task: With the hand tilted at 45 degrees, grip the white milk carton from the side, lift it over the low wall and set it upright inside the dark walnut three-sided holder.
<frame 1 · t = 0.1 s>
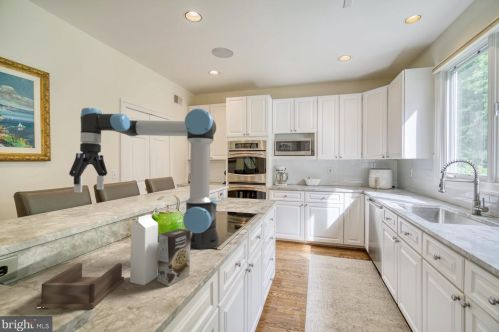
hand: (89, 190, 96), 28 cm above the counter, tool pointing down, fingers open, 13 cm apart
milk: (143, 280, 74), on the counter
cookie box: (174, 278, 75), on the counter
holder: (85, 292, 66), on the counter
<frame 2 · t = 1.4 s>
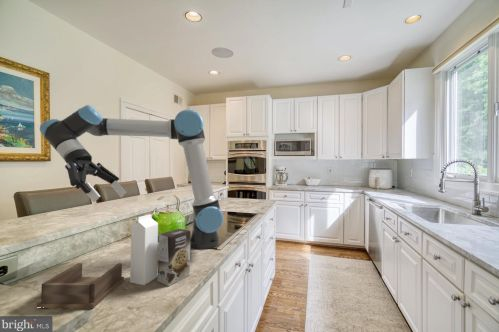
hand: (111, 196, 79), 28 cm above the counter, tool tilted 45°, fingers open, 13 cm apart
nothing on the counter moved.
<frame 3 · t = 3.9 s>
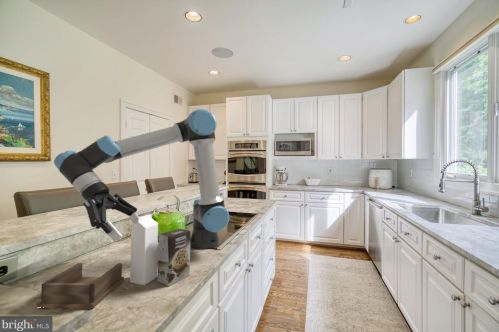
hand: (132, 233, 74), 16 cm above the counter, tool tilted 45°, fingers open, 13 cm apart
nothing on the counter moved.
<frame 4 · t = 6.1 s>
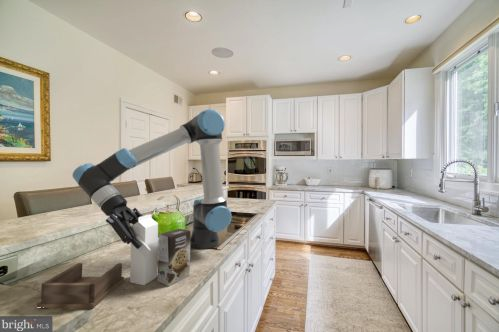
hand: (154, 249, 74), 11 cm above the counter, tool tilted 45°, fingers closed on milk, 7 cm apart
milk: (143, 280, 74), on the counter, touching gripper
everything else where it was.
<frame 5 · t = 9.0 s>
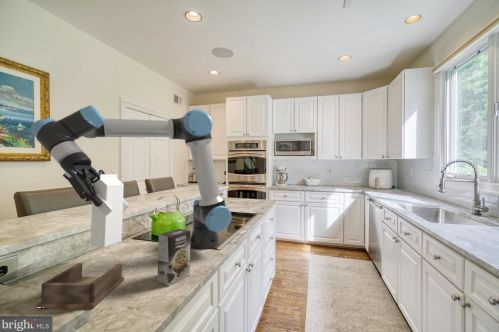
hand: (118, 210, 69), 25 cm above the counter, tool tilted 45°, fingers closed on milk, 7 cm apart
milk: (106, 243, 69), point 14 cm above the counter, touching gripper
everything else where it was.
when the fingers open (13 cm above the counter, at t = 12.3 s): milk drops 1 cm, resting on holder.
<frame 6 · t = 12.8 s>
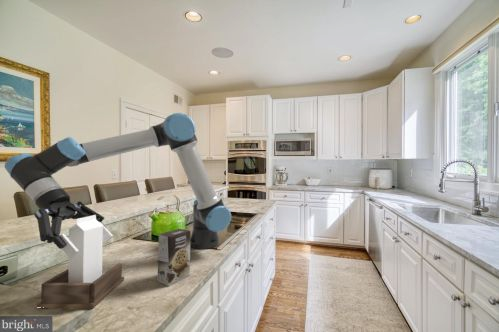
hand: (93, 246, 66), 14 cm above the counter, tool tilted 45°, fingers open, 13 cm apart
milk: (85, 289, 66), point 1 cm above the counter, touching holder
everything else where it was.
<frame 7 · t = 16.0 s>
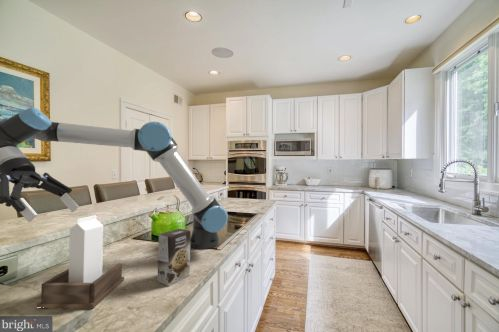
hand: (56, 213, 67), 24 cm above the counter, tool tilted 45°, fingers open, 13 cm apart
nothing on the counter moved.
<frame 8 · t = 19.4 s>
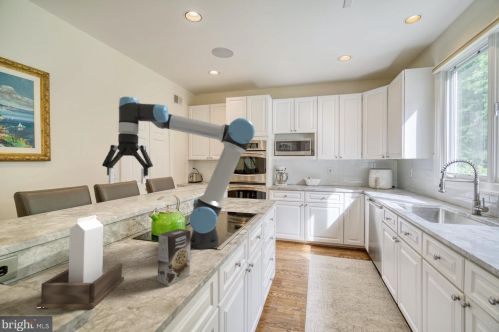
hand: (127, 183, 92), 32 cm above the counter, tool pointing down, fingers open, 13 cm apart
nothing on the counter moved.
at the end: milk 0.1 cm off-centre on the holder, point 1.0 cm above the holder's base; milk tilted 0°; the gripper is holding nothing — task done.
